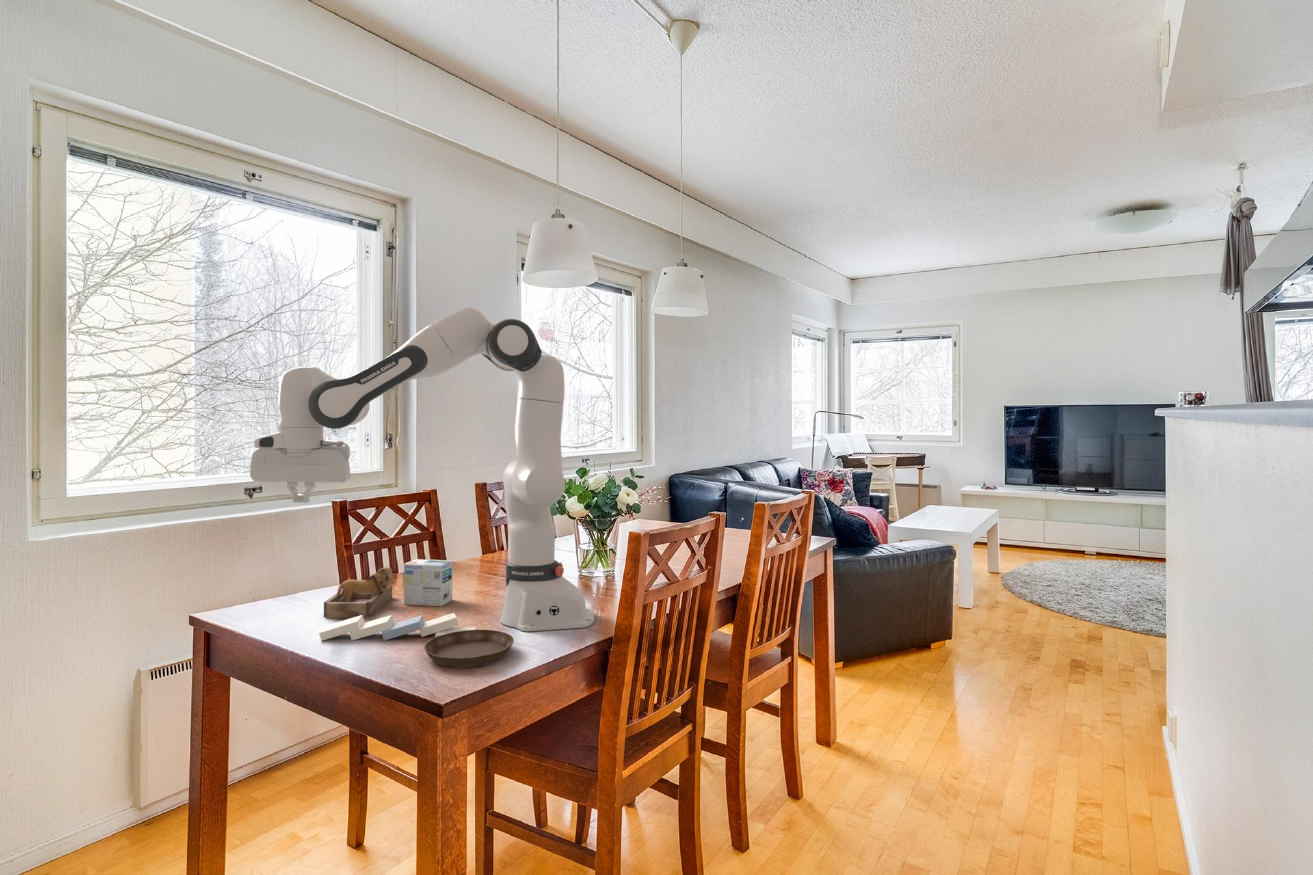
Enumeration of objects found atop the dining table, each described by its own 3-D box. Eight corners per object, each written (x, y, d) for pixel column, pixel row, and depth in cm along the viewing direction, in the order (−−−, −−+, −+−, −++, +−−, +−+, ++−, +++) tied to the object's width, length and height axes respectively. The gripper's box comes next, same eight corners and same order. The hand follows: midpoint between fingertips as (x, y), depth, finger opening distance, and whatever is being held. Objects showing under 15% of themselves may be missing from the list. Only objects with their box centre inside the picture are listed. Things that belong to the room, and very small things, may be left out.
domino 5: (440, 635, 153) (476, 634, 154) (435, 642, 148) (472, 642, 149) (440, 627, 153) (476, 626, 154) (435, 634, 148) (472, 634, 149)
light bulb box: (453, 599, 180) (453, 559, 180) (442, 606, 174) (443, 565, 173) (414, 598, 181) (414, 557, 181) (402, 604, 175) (403, 563, 174)
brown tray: (393, 596, 182) (393, 583, 182) (369, 617, 163) (369, 603, 163) (350, 596, 181) (351, 583, 181) (322, 617, 162) (322, 603, 162)
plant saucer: (405, 659, 137) (405, 644, 136) (473, 636, 151) (473, 623, 151) (465, 679, 127) (465, 663, 127) (531, 653, 142) (531, 638, 142)
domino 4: (420, 631, 153) (455, 620, 156) (421, 637, 149) (458, 625, 152) (418, 623, 153) (454, 612, 156) (419, 629, 149) (456, 617, 152)
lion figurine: (390, 598, 178) (390, 564, 178) (395, 603, 174) (395, 568, 174) (328, 606, 170) (329, 570, 170) (332, 611, 165) (332, 574, 165)
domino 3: (388, 633, 152) (424, 622, 153) (384, 640, 147) (421, 629, 148) (386, 625, 152) (422, 614, 153) (381, 632, 147) (418, 621, 148)
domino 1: (327, 633, 151) (364, 622, 152) (321, 640, 146) (359, 629, 147) (325, 625, 151) (362, 614, 152) (318, 632, 146) (357, 621, 147)
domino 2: (357, 633, 152) (394, 622, 153) (351, 640, 147) (389, 629, 148) (355, 625, 152) (391, 614, 153) (349, 632, 147) (386, 621, 148)
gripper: (354, 440, 154) (354, 501, 155) (260, 439, 153) (260, 500, 153) (344, 441, 148) (344, 504, 148) (246, 439, 146) (246, 503, 147)
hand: (301, 502), depth 151 cm, fingers closed
